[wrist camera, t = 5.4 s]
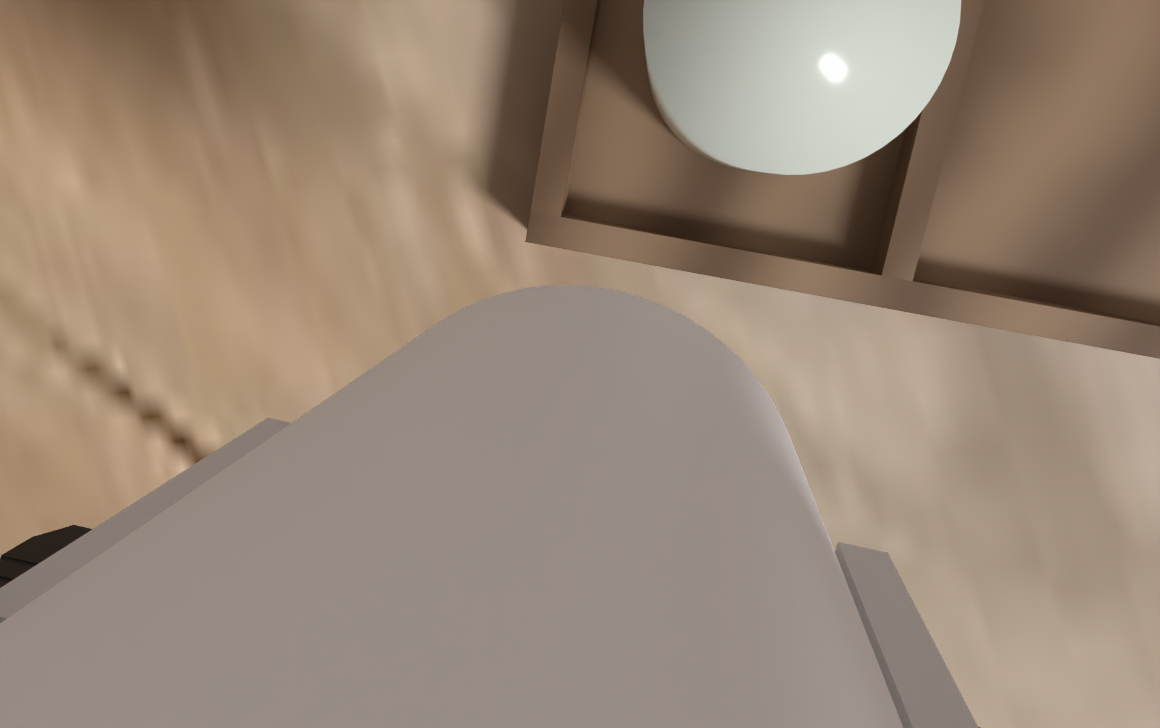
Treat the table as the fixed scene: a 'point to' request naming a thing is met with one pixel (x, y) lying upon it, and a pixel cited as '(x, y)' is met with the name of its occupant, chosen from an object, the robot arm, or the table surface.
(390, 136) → the table surface
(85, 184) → the table surface
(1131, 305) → the caddy
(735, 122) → the pale green rounded cylinder
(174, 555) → the cup
